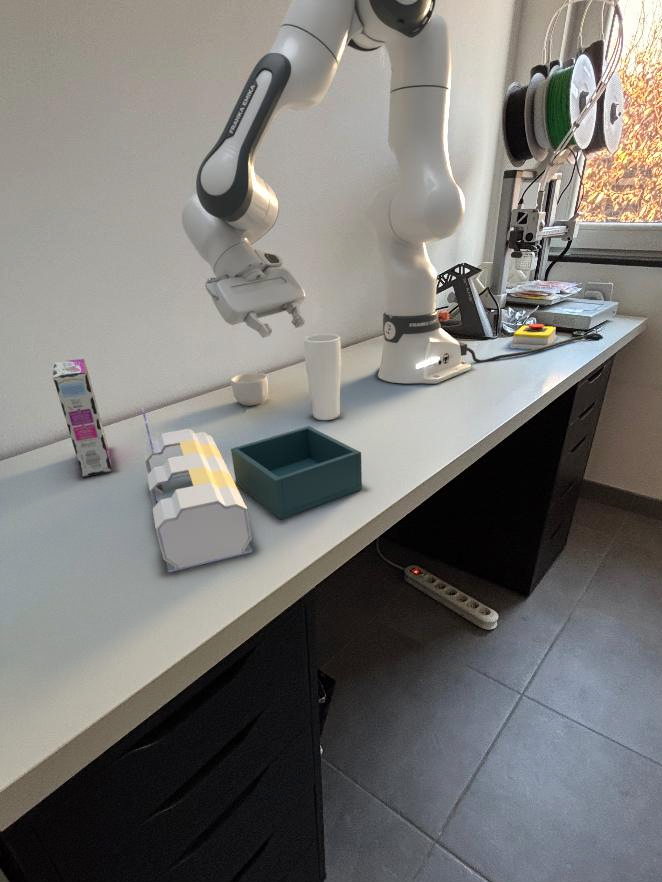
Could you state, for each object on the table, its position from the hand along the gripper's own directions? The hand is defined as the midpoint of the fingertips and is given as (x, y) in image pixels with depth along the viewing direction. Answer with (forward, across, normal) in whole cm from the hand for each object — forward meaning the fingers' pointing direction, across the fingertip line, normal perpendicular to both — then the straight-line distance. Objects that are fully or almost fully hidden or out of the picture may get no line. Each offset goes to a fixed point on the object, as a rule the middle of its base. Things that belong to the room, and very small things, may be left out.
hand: (285, 329), depth 101 cm
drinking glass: (+18, 0, +5) cm, 18 cm away
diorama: (+23, -40, -1) cm, 46 cm away
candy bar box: (+3, -37, +20) cm, 42 cm away
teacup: (+4, 0, +19) cm, 19 cm away
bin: (+28, -26, -6) cm, 38 cm away
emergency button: (+28, +74, -5) cm, 79 cm away
